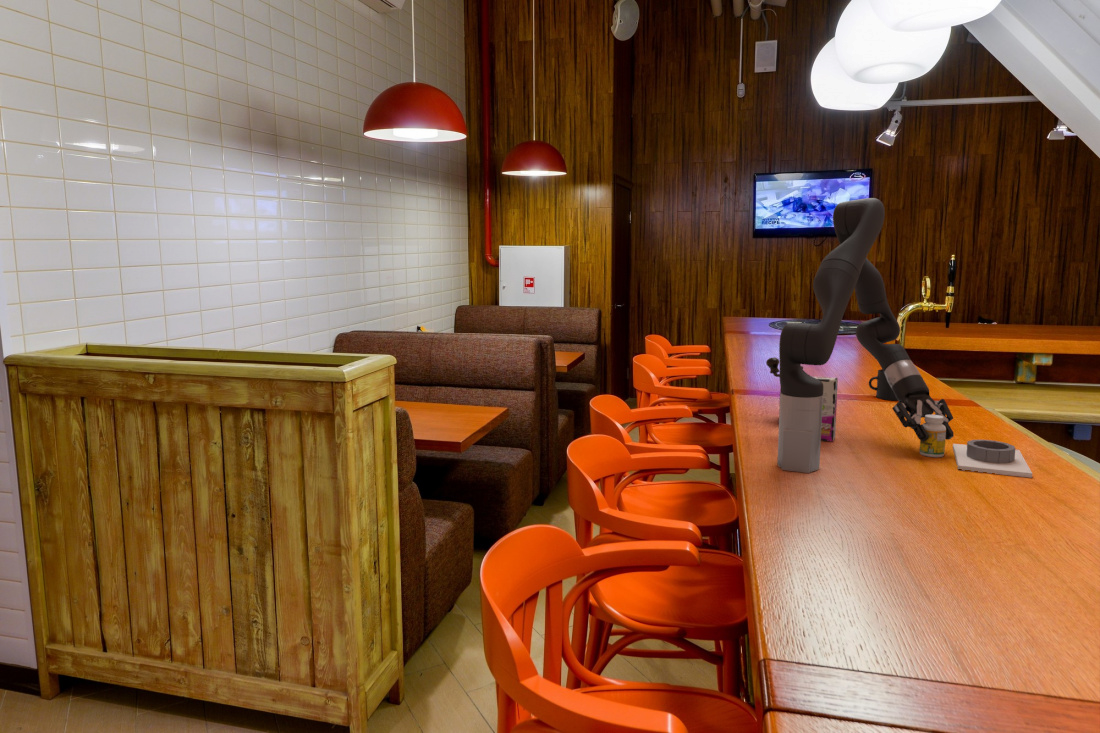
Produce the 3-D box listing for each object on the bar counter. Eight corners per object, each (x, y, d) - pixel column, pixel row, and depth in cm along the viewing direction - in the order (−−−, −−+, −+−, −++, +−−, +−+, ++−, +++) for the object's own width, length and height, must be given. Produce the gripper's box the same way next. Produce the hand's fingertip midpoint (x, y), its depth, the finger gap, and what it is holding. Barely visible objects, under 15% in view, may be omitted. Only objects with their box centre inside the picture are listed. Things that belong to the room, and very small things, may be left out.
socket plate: (1031, 477, 156) (1033, 460, 155) (958, 469, 162) (959, 452, 161) (1018, 453, 173) (1020, 437, 173) (952, 447, 179) (954, 432, 179)
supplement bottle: (949, 456, 172) (952, 417, 170) (931, 458, 170) (934, 419, 169) (931, 450, 177) (934, 412, 175) (913, 452, 175) (916, 414, 174)
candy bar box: (835, 437, 190) (838, 377, 187) (833, 442, 185) (836, 380, 183) (791, 433, 195) (794, 374, 192) (788, 437, 191) (791, 377, 188)
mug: (866, 394, 245) (868, 367, 244) (905, 396, 241) (907, 369, 239) (868, 399, 236) (870, 372, 235) (909, 401, 232) (911, 374, 231)
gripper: (889, 375, 176) (921, 433, 167) (938, 371, 179) (972, 428, 170) (873, 392, 182) (903, 449, 173) (921, 388, 185) (953, 444, 176)
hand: (938, 438), depth 171 cm, fingers open, 6 cm apart
